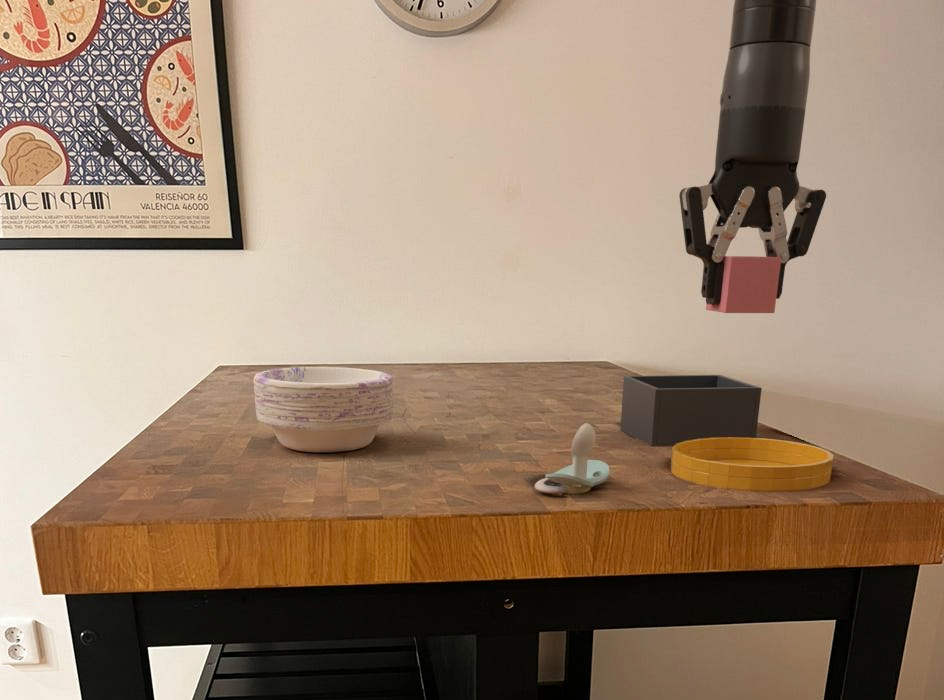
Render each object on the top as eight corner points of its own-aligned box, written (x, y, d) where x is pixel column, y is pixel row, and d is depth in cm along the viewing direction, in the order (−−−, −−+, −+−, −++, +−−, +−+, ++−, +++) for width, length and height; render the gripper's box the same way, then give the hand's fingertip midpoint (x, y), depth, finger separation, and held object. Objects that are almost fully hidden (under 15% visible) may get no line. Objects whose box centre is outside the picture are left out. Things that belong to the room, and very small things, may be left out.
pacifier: (521, 496, 87) (581, 502, 84) (521, 426, 84) (583, 430, 81) (558, 481, 92) (615, 486, 89) (558, 415, 90) (617, 418, 87)
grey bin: (714, 428, 120) (720, 374, 118) (755, 446, 109) (761, 387, 106) (620, 430, 118) (623, 375, 116) (651, 448, 107) (655, 389, 105)
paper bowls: (400, 456, 102) (398, 380, 100) (255, 460, 100) (249, 382, 97) (388, 432, 116) (387, 364, 113) (261, 435, 114) (255, 366, 111)
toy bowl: (787, 459, 102) (790, 435, 101) (859, 491, 88) (863, 464, 87) (650, 462, 100) (652, 438, 99) (702, 496, 86) (705, 468, 85)
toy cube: (752, 309, 97) (759, 256, 95) (774, 313, 92) (781, 257, 90) (705, 309, 96) (710, 256, 94) (725, 313, 91) (731, 256, 90)
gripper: (702, 98, 83) (683, 306, 89) (857, 104, 85) (827, 307, 91) (673, 110, 90) (657, 302, 96) (816, 114, 92) (791, 302, 98)
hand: (740, 303), depth 94 cm, fingers closed on toy cube, 5 cm apart
